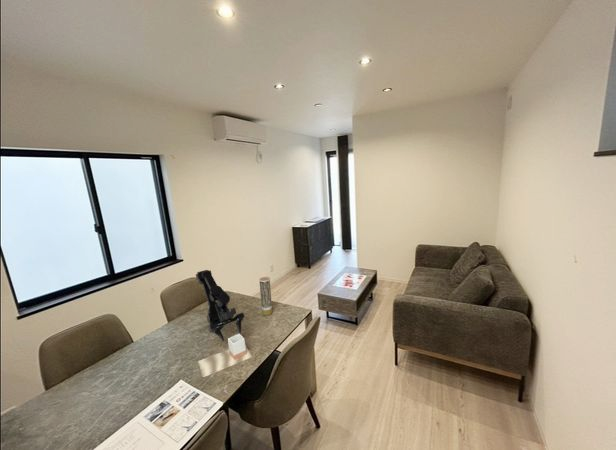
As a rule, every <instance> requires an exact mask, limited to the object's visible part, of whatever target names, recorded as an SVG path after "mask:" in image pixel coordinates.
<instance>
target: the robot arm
mask: <svg viewBox="0 0 616 450" xmlns="http://www.w3.org/2000/svg"><path fill="white" fill-rule="evenodd" d="M195 278H196V280H197V282H198V283H199V284H200V285H201V286H202V288H203V291H204V292H203V293H204V295H205V297H206V302H207V305H208V310H207V315H206V320H207V322H208V323H209V327H208V332H209V333H212V334H215V335H217V337H219V339H221V340H222V342H225V339H224V338H225V337H224V336H223V333H222V331H221V329H222V328H223V327H224V326H226V325H229V324H230V323H233V322H236V323H235V325H236V328H237V331H238V334H239V333H240V335H241V334H242V321H243V320H244V318H245V317H246V316H245V314H244V313H243V312H240V313H238V314H237V310H236V307H233V308H230V309H229V307H228V304H229V302H230V300H231V297H230V295H229V294H228V293H227V292H226V291H225V290H224V289H223V288H222V286H219V285H218V284H217V283H216V280H215V278H214V276H213V275H212V270H208V269H204V270H201V271H197V272H196V274H195Z"/></svg>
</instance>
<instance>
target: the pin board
mask: <svg viewBox="0 0 616 450" xmlns="http://www.w3.org/2000/svg"><path fill="white" fill-rule="evenodd" d="M245 349H246V355H244V356H242V357H240V358H238V359H236V360H234V359H233V358H232V356H231V355H230V353H229V349H227V350H223V351H221V352H219V353H216V354H213V355H210V356H208V357H206V358H203V359H201V360H198V365H199V368H200V369H199V370H200V373H201V376H202V378H205V377H207V376H210V375H212V374H214V373H218V372H220V371H222V370H224V369H226V368H229V367H231V366H234V365H236V364H239V363H240V362H243V361H247V360H249V359H251V358H252V357H253V356H252V354H251V352H250V351H249V349H248V347H247V345H245Z"/></svg>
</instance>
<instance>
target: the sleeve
mask: <svg viewBox="0 0 616 450" xmlns="http://www.w3.org/2000/svg"><path fill="white" fill-rule="evenodd" d="M227 343H228V350H229V353H230V355H231V356H232V358H233V359H234V360H236V359H238V358H240V357H242V356H244V355H246V349H245V346H246V341H245V337H243V335H241V334H240V333H239V332H238V333H236V334H234V335H232V336H230V337H227Z"/></svg>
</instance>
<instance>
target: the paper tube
mask: <svg viewBox="0 0 616 450" xmlns="http://www.w3.org/2000/svg"><path fill="white" fill-rule="evenodd" d="M259 291H260V302H261V304H260V305H261V314H262V315H264V316H270V315H271V314H273V307H272V306H273V303H272V291H271V280H270V277H269V276H263V277H260V278H259Z"/></svg>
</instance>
